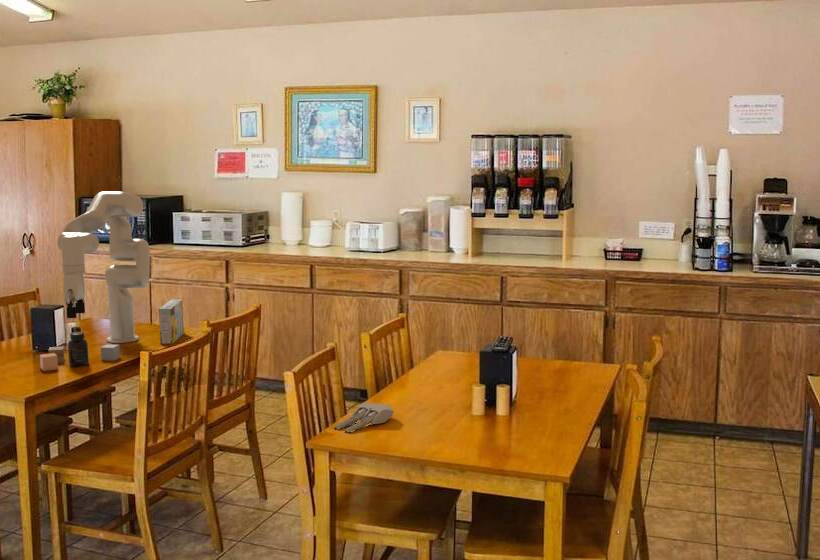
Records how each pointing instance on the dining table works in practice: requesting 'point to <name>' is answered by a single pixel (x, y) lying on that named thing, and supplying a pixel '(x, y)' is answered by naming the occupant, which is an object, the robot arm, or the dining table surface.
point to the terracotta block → (48, 362)
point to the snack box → (171, 321)
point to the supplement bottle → (78, 350)
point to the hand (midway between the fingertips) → (76, 315)
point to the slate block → (110, 352)
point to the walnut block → (57, 353)
